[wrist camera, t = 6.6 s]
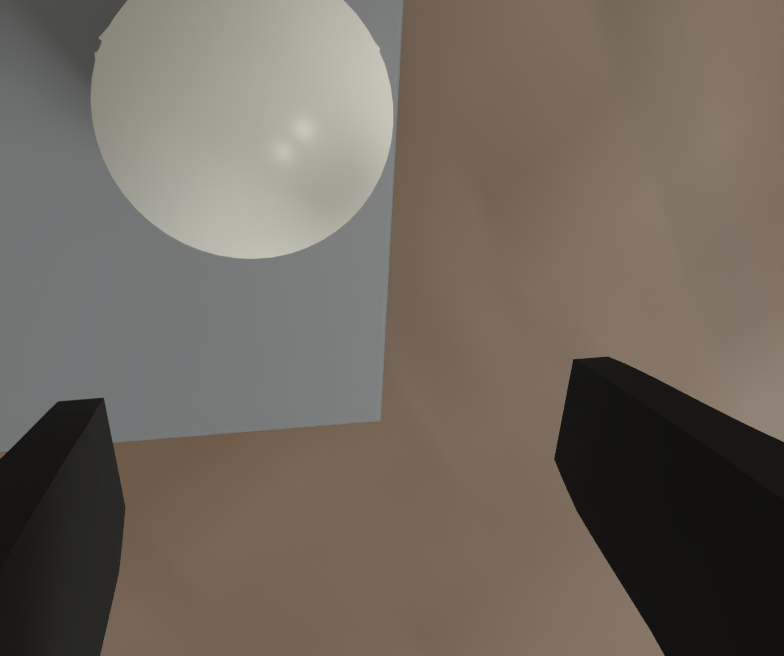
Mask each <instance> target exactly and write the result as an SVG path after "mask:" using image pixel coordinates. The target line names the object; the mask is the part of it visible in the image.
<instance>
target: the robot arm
mask: <svg viewBox="0 0 784 656" xmlns="http://www.w3.org/2000/svg"><path fill="white" fill-rule="evenodd" d="M554 460H555V462H556V464H557V467H558V469H559V472H560V474H561V476H562V479H563V481H564V483H565V486H566V488H567V490H568V493H569V495H570V497H571V499H572V501H573V503H574V506H575V508H576V510H577V512H578V514H579V515H580V517H581V519H582V520H583V522H584V524H585V526H586V527H587V529H588V530H589V532H590V534H591V535H592V537H593V539H594V540H595V542H596V544H597V545H598V547H599V548H600V550H601V552H602V553H603V555H604V557H605V558H606V560H607V561H608V563H609V565H610V566H611V568H612V569H613V571H614V573H615V574H616V576H617V577H618V579H619V581H620V582H621V584H622V585H623V587H624V589H625V590H626V592H627V593H628V595H629V597H630V598H631V600H632V601H633V603H634V605H635V606H636V608H637V609H638V611H639V613H640V614H641V616H642V617H643V619H644V621H645V622H646V624H647V625H648V627H649V629H650V630H651V632H652V634H653V636H654V637H655V639H656V641H657V643H658V644H659V646H660V648H661V650H662V651H663V653H664V655H665V656H784V442H782V441H780V440H778V439H776V438H774V437H771V436H769V435H767V434H765V433H763V432H761V431H758V430H756V429H754V428H752V427H750V426H748V425H746V424H744V423H742V422H740V421H738V420H736V419H734V418H732V417H730V416H728V415H726V414H724V413H722V412H720V411H718V410H716V409H714V408H712V407H710V406H708V405H706V404H704V403H702V402H700V401H698V400H696V399H694V398H692V397H691V396H689V395H687V394H685V393H683V392H681V391H679V390H677V389H675V388H673V387H671V386H669V385H667V384H665V383H663V382H661V381H660V380H658V379H656V378H654V377H652V376H650V375H648V374H646V373H644V372H642V371H640V370H637V369H635V368H633V367H631V366H629V365H627V364H625V363H622V362H620V361H617V360H615V359H612V358H610V357H597V358H585V359H573V364H572V369H571V374H570V380H569V385H568V390H567V395H566V401H565V406H564V411H563V416H562V421H561V427H560V432H559V437H558V442H557V448H556V453H555V458H554ZM124 516H125V503H124V498H123V493H122V488H121V483H120V478H119V472H118V467H117V462H116V457H115V452H114V447H113V442H112V436H111V431H110V426H109V421H108V416H107V411H106V405H105V400H104V398H92V399H80V400H68V401H58V402H57V403H56V404H55V405H54V406H53V407H52V408H50V409H49V410H48V411H47V412H46V413H45V414H44V415H43V416H42V417H41V419H40V420H39V421H38V422H37V423H36V424H35V425H34V426H33V427H32V428H31V429H30V430H29V431H28V432H27V433H26V434H25V435H24V436H23V437H22V438H21V439H20V440H19V441H18V442H17V443H16V444H15V445H14V446H13V447H12V448H11V449H10V450H9V451H8V452H7V453H6V454H5V455H4V456H3V457H2V458H1V459H0V656H100V653H101V649H102V645H103V640H104V636H105V632H106V627H107V623H108V619H109V614H110V610H111V605H112V601H113V597H114V592H115V588H116V583H117V578H118V574H119V567H120V558H121V548H122V538H123V527H124Z"/></svg>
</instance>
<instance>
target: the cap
mask: <svg viewBox="0 0 784 656" xmlns="http://www.w3.org/2000/svg"><path fill="white" fill-rule="evenodd" d="M99 39H100V40H101V41H102V42H101V45H100V48H99V50H97V51H96V52H95V53H94V54H95V65H94V69H93V74H92V82H91V112H92V122H93V126H94V131H95V136H96V140H97V143H98V146H99V149H100V152H101V154H102V157H103V160H104V162H105V164H106V166H107V168H108V170H109V172H110V174H111V176H112V178H113V179H114V181H115V182H116V184H117V185H118V187H119V188H120V190H121V191H122V193H123V194H124V196H125V197H126V198H127V199H128V200H129V201H130V202H131V204H132V205H133V206H134V207H135V208H136V209H137V210H138V211H139V212H140V213H141V214H142V215H143V216H144V217H145V218H146V219H147V220H149V221H150V222H151V223H152V224H153V225H155V226H156V227H158V228H159V229H160V230H162V231H163V232H165V233H166V234H167V235H169V236H171V237H173V238H175V239H176V240H178V241H180V242H182V243H184V244H186V245H189V246H191V247H194V248H196V249H198V250H201V251H204V252H208V253H212V254H215V255H219V256H225V257H232V258H243V259H260V258H271V257H277V256H282V255H286V254H291V253H294V252H297V251H299V250H302V249H305V248H308V247H310V246H312V245H314V244H316V243H318V242H320V241H322V240H324V239H325V238H327V237H328V236H330V235H331V234H333V233H334V232H336V231H337V230H338V229H340V228H341V227H342V226H343V225H344V224H346V223H347V222H348V221H349V220H350V219H351V218H352V217H353V216H354V215H355V214H356V213H357V212H358V211H359V209H360V208H361V207H362V206H363V205H364V203H365V202H366V200H367V199H368V198H369V196H370V195H371V193H372V192H373V190H374V188H375V186H376V184H377V182H378V180H379V179H380V177H381V174H382V171H383V169H384V166H385V164H386V161H387V157H388V153H389V149H390V145H391V140H392V131H393V100H392V92H391V85H390V81H389V78H388V74H387V70H386V66H385V62H384V61H383V59H382V56H381V54H380V51H379V50H380V48H379V46H378V45H377V44H376V43H375V41H374V40H373V38H372V36H371V34H370V32H369V31H368V29H367V28H366V26H365V25H364V24H363V22H362V21H361V19H360V18H359V17H358V15H357V14H356V13H355V12H354V11H353V10H352V8H351V7H350V6H349V5H348V4H347V3H346V2H345V1H344V0H127V1H126V3H125V4H124V5H123V7H122V8H121V9H120V11H119V12H118V13H117V15H116V16H115V17H114V18H113V20H112V22H111V24H110V25H109V27H108V28H107V29H106V30H105V31H104V32H103V33H102V34H101V36H100V37H99Z"/></svg>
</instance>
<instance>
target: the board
mask: <svg viewBox="0 0 784 656" xmlns="http://www.w3.org/2000/svg"><path fill="white" fill-rule="evenodd" d="M126 1H127V0H0V452H5V451H9V450H10V449H11V448H12V447H13V446H14V445H15V444H16V443H17V442H18V441H19V440H20V439H21V438H22V437H23V436H24V435H25V434H26V433H27V432H28V431H29V430H30V429H31V428H32V427H33V426H34V425H35V424H36V423H37V422H38V421H39V420H40V419H41V417H42V416H43V415H44V414H45V413H46V412H47V411H48V410H49V409H50V408H52V407H53V406H54V405H55V404H56V403H57V402H58V401H68V400H80V399H92V398H104V400H105V405H106V411H107V416H108V421H109V426H110V431H111V436H112V442H113V443H115V442H127V441H139V440H152V439H164V438H176V437H188V436H201V435H213V434H225V433H237V432H249V431H262V430H274V429H286V428H298V427H310V426H323V425H335V424H347V423H359V422H372V421H381V403H382V384H383V366H384V347H385V329H386V311H387V292H388V274H389V255H390V237H391V218H392V200H393V181H394V163H395V144H396V126H397V107H398V89H399V71H400V52H401V34H402V15H403V0H344V1H345V2H346V3H347V4H348V5H349V6H350V7H351V8H352V10H353V11H354V12H355V13H356V14H357V15H358V17H359V18H360V19H361V21H362V22H363V24H364V25H365V26H366V28H367V29H368V31H369V32H370V34H371V36H372V38H373V40H374V41H375V43H376V44H377V45H378V46H379V48H380V50H379V51H380V54H381V56H382V59H383V61H384V62H385V66H386V70H387V74H388V78H389V81H390V85H391V92H392V100H393V131H392V140H391V145H390V149H389V153H388V157H387V161H386V164H385V166H384V169H383V171H382V174H381V177H380V179H379V180H378V182H377V184H376V186H375V188H374V190H373V192H372V193H371V195H370V196H369V198H368V199H367V200H366V202H365V203H364V205H363V206H362V207H361V208H360V209H359V211H358V212H357V213H356V214H355V215H354V216H353V217H352V218H351V219H350V220H349V221H348V222H347V223H346V224H344V225H343V226H342V227H341V228H340V229H338V230H337V231H336V232H334V233H333V234H331V235H330V236H328V237H327V238H325V239H324V240H322V241H320V242H318V243H316V244H314V245H312V246H310V247H308V248H305V249H302V250H299V251H297V252H294V253H291V254H286V255H282V256H277V257H271V258H260V259H243V258H232V257H225V256H219V255H215V254H212V253H208V252H204V251H201V250H198V249H196V248H194V247H191V246H189V245H186V244H184V243H182V242H180V241H178V240H176V239H175V238H173V237H171V236H169V235H167V234H166V233H165V232H163V231H162V230H160V229H159V228H158V227H156V226H155V225H153V224H152V223H151V222H150V221H149V220H147V219H146V218H145V217H144V216H143V215H142V214H141V213H140V212H139V211H138V210H137V209H136V208H135V207H134V206H133V205H132V204H131V202H130V201H129V200H128V199H127V198H126V197H125V196H124V194H123V193H122V191H121V190H120V188H119V187H118V185H117V184H116V182H115V181H114V179H113V178H112V176H111V174H110V172H109V170H108V168H107V166H106V164H105V162H104V160H103V157H102V154H101V152H100V149H99V146H98V143H97V140H96V136H95V131H94V126H93V122H92V112H91V82H92V74H93V69H94V65H95V54H94V53H95V52H96V51H97V50H99V48H100V45H101V42H102V41H101V40H100V39H99V37H100V36H101V34H102V33H103V32H104V31H105V30H106V29H107V28H108V27H109V25H110V24H111V22H112V20H113V18H114V17H115V16H116V15H117V13H118V12H119V11H120V9H121V8H122V7H123V5H124V4H125V3H126Z"/></svg>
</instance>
